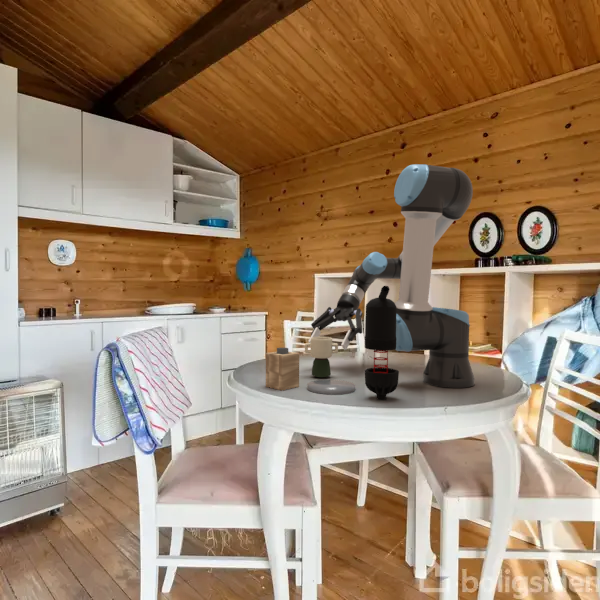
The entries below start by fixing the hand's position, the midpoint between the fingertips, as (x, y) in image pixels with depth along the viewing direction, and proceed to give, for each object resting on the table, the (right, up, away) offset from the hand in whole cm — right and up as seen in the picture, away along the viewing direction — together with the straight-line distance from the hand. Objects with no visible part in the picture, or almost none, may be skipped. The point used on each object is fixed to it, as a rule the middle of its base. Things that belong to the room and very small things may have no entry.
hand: (326, 345), depth 150 cm
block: (-14, -10, -19) cm, 26 cm away
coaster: (0, -10, -21) cm, 24 cm away
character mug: (-2, -10, -5) cm, 11 cm away
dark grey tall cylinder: (-14, -9, -19) cm, 26 cm away
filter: (+12, -11, -32) cm, 36 cm away
